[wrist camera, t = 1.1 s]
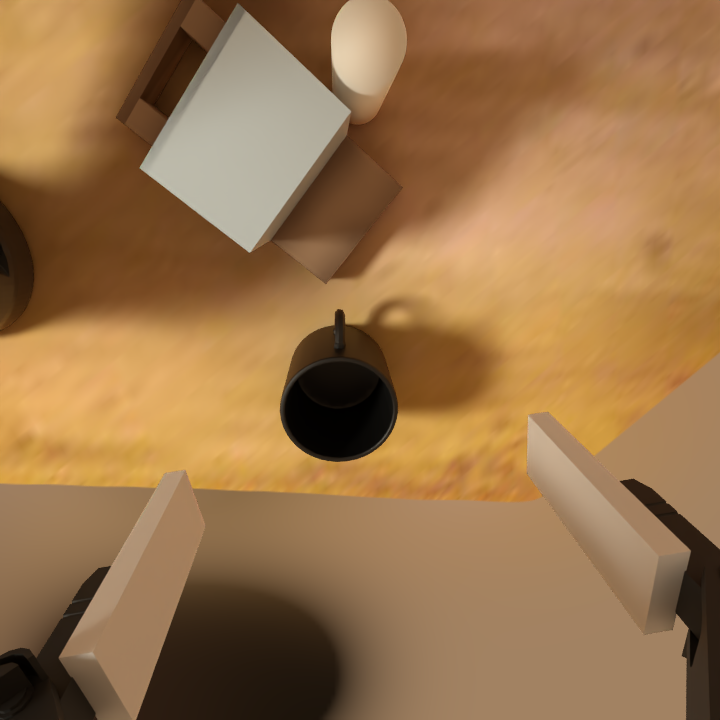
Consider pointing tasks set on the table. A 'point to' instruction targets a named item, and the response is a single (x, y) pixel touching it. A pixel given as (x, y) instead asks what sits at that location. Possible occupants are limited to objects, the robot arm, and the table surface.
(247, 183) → the cover
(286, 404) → the mug
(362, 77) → the pin
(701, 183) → the table surface
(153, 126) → the wooden tray
